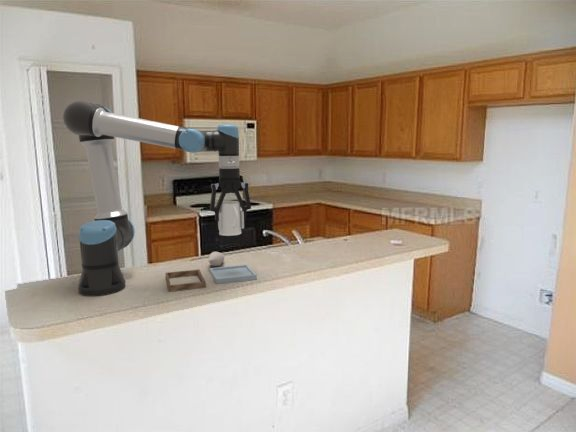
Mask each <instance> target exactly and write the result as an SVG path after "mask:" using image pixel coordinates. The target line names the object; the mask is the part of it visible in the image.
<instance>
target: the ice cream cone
mask: <svg viewBox="0 0 576 432" xmlns="http://www.w3.org/2000/svg"><path fill="white" fill-rule="evenodd" d="M224 260H225V256H224V254H223V253H222V252H219V251H212V252H211V253H210V254H209V255H208V260H207V261H208V263H209V265H211V266H212V267H220V266H221V264H223V262H224Z"/></svg>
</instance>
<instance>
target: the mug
mask: <svg viewBox="0 0 576 432" xmlns="http://www.w3.org/2000/svg"><path fill="white" fill-rule="evenodd" d="M240 211H241V206H240V202H238V200H223V202H222V205H221V207H220V210H219V212H221V227H222V230H219V229H218V231H219V232H218V235H219V236H226V237H231V236H239V235H241V234H242V228H241V215H240Z"/></svg>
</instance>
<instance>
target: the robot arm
mask: <svg viewBox="0 0 576 432" xmlns="http://www.w3.org/2000/svg"><path fill="white" fill-rule="evenodd" d="M62 120H63V123H64V125H65V127H66V128H67V130H68V131H69V132H71V133H72V134H74V135H77V136H78V139H79V144H80V145H82V146H83V147H84V148H85V153H86V157H87V162H88V168H89V174H90V178H91V179H90V180H91V184H92V189H93V194H94V200H95V206H96V211H97V213H96V215H95V216H94V217H93V221H88V222H86V223H84V224H82V225H81V226H80V227H79V230H78V240H79V249H80V259H81V260H80V261H81V274H80V277H79V281H78V285H77V288H78V289H77V290H78V294H80V295H83V296H88V297H89V296H92V297H95V296H96V297H97V296H107V295H111V294H113V293H114V294H115V293H117V292H120V291H123V290H124V289H125V288H126V279H125V276H124V275H123V272H122V270H121V268H120V265H119V264H120V263H119V251H121V250H123V249H124V248H127V247H128V246H129V245H130V243H131V242H133V240H134V238H135V232H136V231H135V226H134V224H133V222H132V221H130V219H129V215H128V212H127V211H125V210H124V209H123V206H122V201H121V195H120V189H119V183H118V177H117V171H116V166H115V161H114V155H113V151H112V150H113V149H112V144H113V143H114V142H115V138H118V139H123V140H124V139H125V140H129V141H135V142H140V143H145V144H150V145H156V146H160V147H165V148H171V149H176V150H180V151H185V152H187V153H194V154H195V153H203V152H204V153H205V152H206V153H207V152H217V153H218V167H219V169H218V177H219V178H218V182H217V183H211V184H210V187H211V188H210V189H211V195H210V203H209V210H210V211H211V212H213V213H214V219H215V222H217V226H218V227H217V228H218V231H219V230H222V227H221V212H219V210H220V207H221V205H222V202H223V201H225V200H224V199H225V197H226V195H227V194H230V193H231V194H234V195H235V198H236V200H237V201H238V202H240V215H241V230H242V229H245V220H247V212H248V210H251V209H252V204H251V199H250V194H249V183H248V182H242V181H241V176H240V174H241V173H240V171H241V170H240V168H239V167H240V140H239V139H240V137H239V127H238V126H237V125H235V124H219V125H218V126H217V129H216V130H199V129H195V128H189V127H185V126H179V125H173V124H169V123H165V122H160V121H154V120H149V119H144V118H139V117H133V116H129V115H123V114H119V113H113V112H112V111H111V110H110V109H109V108H107V107H105V106H104V105H101V104H99V103H92V102H88V101H83V100H77V101H73V102H71V103H69V104H68V105H66V107H65V109H64V111H63V114H62ZM218 187H219V188H220V189H221V191H220V196H219V197H218V199H217V203H216V197H217V190H218ZM240 187H241V188H242V189H243V195H244V196H243V197H244V200H245V202H244V200H243V198H242V196H241V194H240V192H239V189H240Z"/></svg>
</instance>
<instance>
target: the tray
mask: <svg viewBox="0 0 576 432" xmlns="http://www.w3.org/2000/svg"><path fill="white" fill-rule="evenodd" d="M209 274H210V276H211V277H212V279H213V280H214V282H215V283H216V285H220V284H221V285H222V284H229V283H237V282H246V281H256V280H257V279H258V277H257V276H258V275H257V273H256V272H255V271H254V270H253V269H252V268H251V267H250V266H249V265H248V264H240V265H239V264H238V265H229V266H221V267H220V266H217V267H211V268H209Z"/></svg>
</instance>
